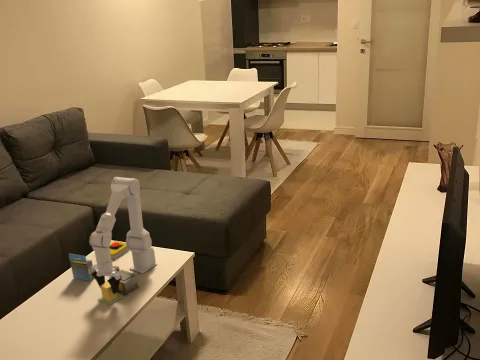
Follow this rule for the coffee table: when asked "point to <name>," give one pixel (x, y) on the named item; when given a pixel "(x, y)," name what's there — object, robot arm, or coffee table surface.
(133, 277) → the box
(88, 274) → the label tape box
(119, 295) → the pad
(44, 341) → the coffee table surface
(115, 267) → the walnut cylinder
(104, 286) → the ochre block
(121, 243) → the emergency button
